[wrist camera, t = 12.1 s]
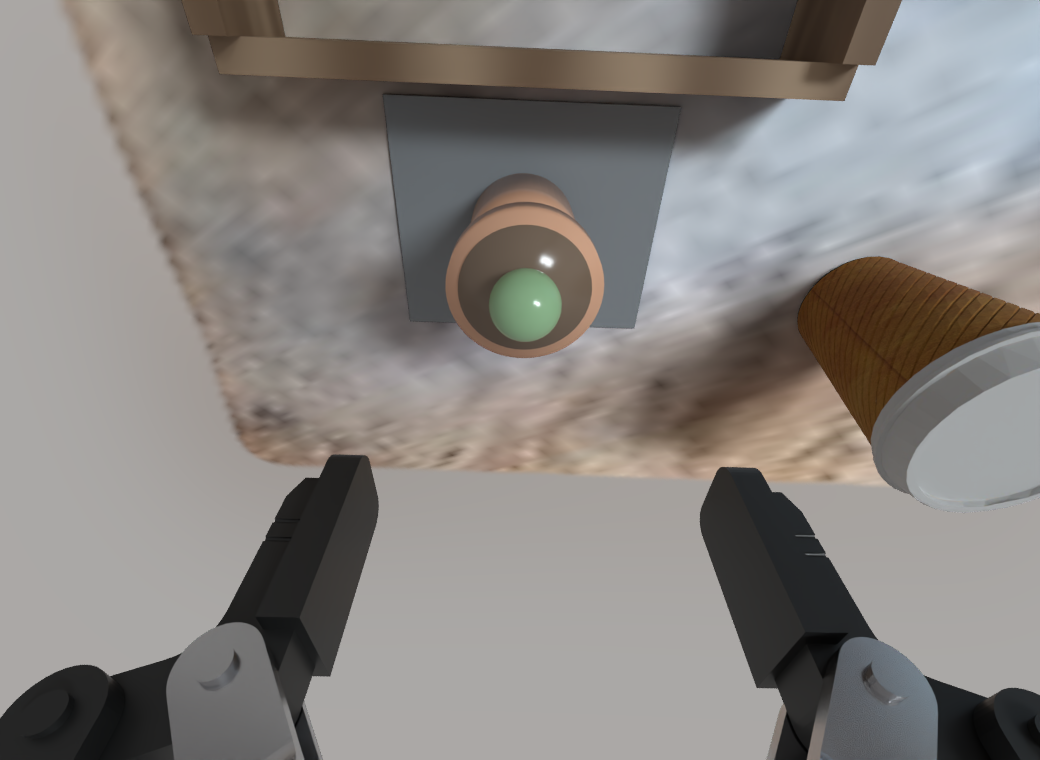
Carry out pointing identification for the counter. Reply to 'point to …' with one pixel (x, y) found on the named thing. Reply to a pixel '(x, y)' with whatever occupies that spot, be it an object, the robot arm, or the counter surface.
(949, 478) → the disposable coffee cup
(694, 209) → the counter surface
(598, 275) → the terracotta pot
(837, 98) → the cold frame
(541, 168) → the slate mat
